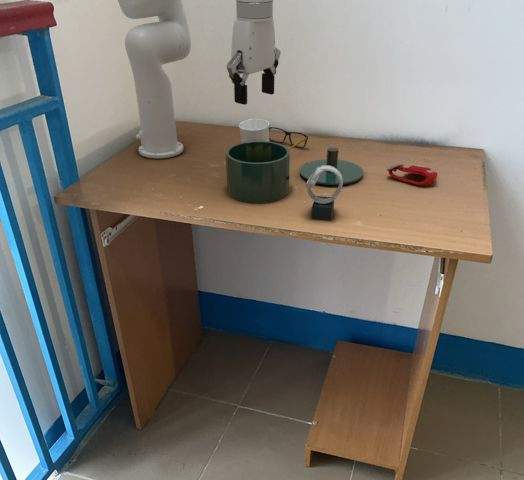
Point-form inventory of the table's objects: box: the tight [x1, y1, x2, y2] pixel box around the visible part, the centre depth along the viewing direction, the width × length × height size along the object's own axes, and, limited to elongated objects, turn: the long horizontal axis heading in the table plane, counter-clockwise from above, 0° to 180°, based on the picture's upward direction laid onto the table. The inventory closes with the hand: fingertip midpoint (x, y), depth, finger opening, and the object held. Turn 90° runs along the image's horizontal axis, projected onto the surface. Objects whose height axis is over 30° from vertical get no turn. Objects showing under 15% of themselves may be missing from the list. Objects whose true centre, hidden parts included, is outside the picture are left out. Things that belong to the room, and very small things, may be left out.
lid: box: [299, 146, 364, 186], centre depth 143 cm, size 16×16×7 cm
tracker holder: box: [385, 163, 438, 187], centre depth 141 cm, size 12×4×10 cm
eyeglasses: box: [269, 126, 309, 150], centre depth 158 cm, size 14×14×4 cm
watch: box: [305, 165, 344, 222], centre depth 124 cm, size 6×8×11 cm
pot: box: [225, 141, 291, 204], centre depth 135 cm, size 15×15×10 cm
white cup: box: [238, 118, 270, 143], centre depth 149 cm, size 8×8×10 cm
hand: (254, 98), depth 126 cm, fingers open, 9 cm apart
